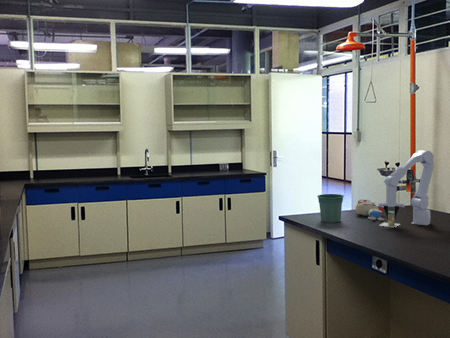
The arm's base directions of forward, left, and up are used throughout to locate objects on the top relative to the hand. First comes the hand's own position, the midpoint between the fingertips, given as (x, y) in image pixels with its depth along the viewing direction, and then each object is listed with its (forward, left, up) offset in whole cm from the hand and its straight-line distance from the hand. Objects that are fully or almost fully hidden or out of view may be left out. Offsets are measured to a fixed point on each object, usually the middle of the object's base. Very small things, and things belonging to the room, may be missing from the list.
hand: (391, 218), depth 300 cm
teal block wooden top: (0, 0, -3) cm, 3 cm away
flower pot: (+37, +3, -4) cm, 37 cm away
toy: (+19, -21, -4) cm, 28 cm away
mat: (+1, 0, -4) cm, 4 cm away
